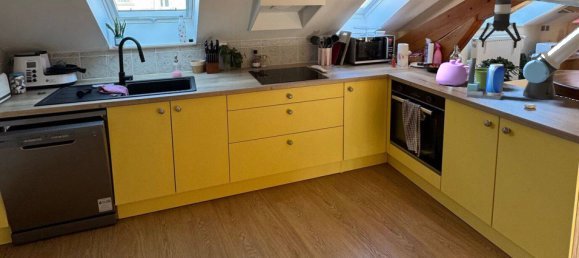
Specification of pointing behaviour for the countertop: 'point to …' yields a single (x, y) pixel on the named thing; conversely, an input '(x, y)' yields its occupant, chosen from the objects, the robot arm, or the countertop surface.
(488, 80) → the beer can
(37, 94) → the countertop surface
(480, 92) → the press frame
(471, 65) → the press ram
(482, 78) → the plant pot
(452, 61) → the teapot
